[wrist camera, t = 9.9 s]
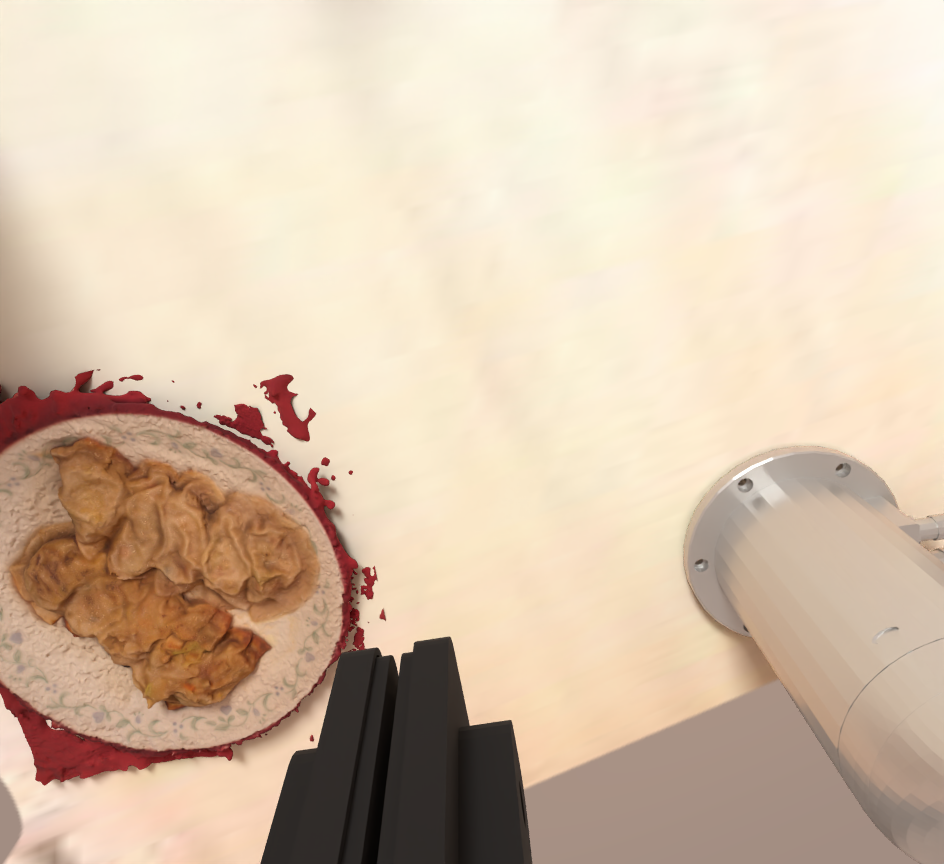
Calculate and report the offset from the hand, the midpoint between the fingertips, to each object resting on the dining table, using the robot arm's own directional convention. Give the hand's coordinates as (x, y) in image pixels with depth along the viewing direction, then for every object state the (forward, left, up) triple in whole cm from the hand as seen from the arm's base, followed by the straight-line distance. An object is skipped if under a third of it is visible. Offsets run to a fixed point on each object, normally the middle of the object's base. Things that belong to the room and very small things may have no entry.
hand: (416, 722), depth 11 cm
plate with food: (+19, +12, -30) cm, 38 cm away
